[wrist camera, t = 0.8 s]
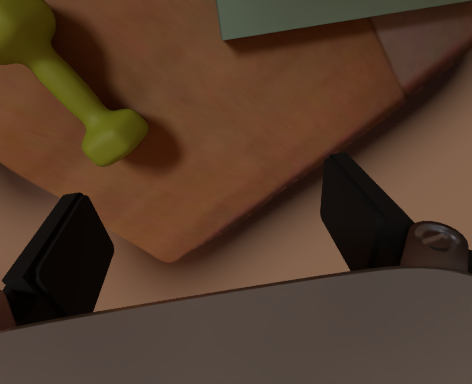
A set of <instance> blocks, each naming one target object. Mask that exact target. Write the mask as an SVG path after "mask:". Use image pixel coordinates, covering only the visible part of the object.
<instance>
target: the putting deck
mask: <svg viewBox="0 0 472 384" xmlns="http://www.w3.org/2000/svg"><path fill="white" fill-rule="evenodd" d="M465 1H471V0H216V5H217V12H218V19H219V26H220V33H221V39H222V40H229V39H235V38H241V37H247V36H254V35H260V34H266V33H272V32H278V31H285V30H291V29H297V28H303V27H310V26H316V25H322V24H328V23H334V22H341V21H347V20H353V19H359V18H366V17H372V16H378V15H384V14H391V13H397V12H403V11H409V10H415V9H422V8H428V7H434V6H440V5H447V4H453V3H459V2H465Z"/></svg>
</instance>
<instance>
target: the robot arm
mask: <svg viewBox="0 0 472 384" xmlns="http://www.w3.org/2000/svg"><path fill="white" fill-rule="evenodd" d="M320 215H321V219H322V221H323V223H324V224H325V226H326V228H327V230H328V231H329V233H330V235H331V237H332V239H333V240H334V242H335V244H336V246H337V248H338V249H339V251H340V253H341V255H342V256H343V258H344V260H345V262H346V263H347V265H348V267H349V269H350V271H349V272H341V273H334V274H328V275H320V276H314V277H307V278H301V279H295V280H288V281H282V282H276V283H269V284H263V285H256V286H250V287H244V288H237V289H231V290H226V291H219V292H213V293H206V294H201V295H194V296H188V297H182V298H176V299H169V300H163V301H157V302H152V303H145V304H140V305H134V306H127V307H121V308H116V309H110V310H103V311H97V312H93V311H94V308H95V305H96V302H97V299H98V297H99V294H100V291H101V288H102V285H103V282H104V279H105V276H106V274H107V271H108V268H109V265H110V262H111V259H112V257H113V254H114V245H113V243H112V241H111V239H110V237H109V235H108V233H107V231H106V229H105V227H104V226H103V224H102V222H101V220H100V218H99V216H98V214H97V212H96V210H95V208H94V206H93V204H92V202H91V201H90V199H89V197H88V196H86V195H83V194H82V193H80V192H79V193H73V194H66V195H63V196H62V197H61V199H60V200H59V202H58V203H57V204H56V206H55V207H54V209H53V210H52V211H51V213H50V214H49V216H48V217H47V218H46V220H45V221H44V222H43V224H42V225H41V227H40V228H39V230H38V231H37V232H36V234H35V235H34V236H33V238H32V239H31V241H30V242H29V243H28V245H27V246H26V247H25V249H24V250H23V252H22V253H21V254H20V256H19V257H18V259H17V260H16V261H15V263H14V264H13V265H12V267H11V268H10V270H9V271H8V272H7V274H6V275H5V277H4V278H3V279H2V282H3V283H4V284H5V285H6V286H5V287H4V289H3V290H0V384H472V250H469V249H468V242H467V240H466V239H465V237H464V236H463V235H462V234H461V233H460V232H458V231H457V230H456V229H454V228H452V227H450V226H448V225H445V224H442V223H439V222H433V221H421V222H417V223H414V222H413V221H412V220H411V219H410V218H409V217H408V215H407V214H406V213H405V212H404V211H403V210H402V209H401V208H400V207H399V206H398V205H397V204H396V203H395V202H394V201H393V200H392V199H391V198H390V197H389V196H388V195H387V194H386V193H385V192H384V191H383V190H382V189H381V188H380V187H379V186H378V185H377V184H376V183H375V182H374V181H373V180H372V179H371V178H370V177H369V176H368V174H367V173H365V171H363V169H362V168H361V167H360V166H359V165H358V164H357V163H356V162H355V161H354V160H353V159H352V158H351V157H350V156H349V155H348V154H347V153H345V152H343V153H337V154H331V155H329V158H328V159H325V161H324V173H323V185H322V196H321V208H320Z"/></svg>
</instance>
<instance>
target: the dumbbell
mask: <svg viewBox="0 0 472 384" xmlns="http://www.w3.org/2000/svg"><path fill="white" fill-rule="evenodd" d="M55 31H56V19H55V16H54V14H53V12H52V10H51V9H50V7H49V6H48V4H47V3H46V2H45V1H44V0H0V65H8V64H14V63H19V64H23V65H25V66H27V67H28V68H30V69H31V70H32V71H33V73H34V74H35V75H36V76H37V77H38V79H39V80H40V81H41V82H42V83H43V85H44V86H45V87H46V88H47V89H48V90H49V91H50V92H51V93H52V94H53V95H54V96H55V97H56V98H57V99H58V100H59V101H60V102H61V103H62V104H63V105H64V106H65V107H66V108H67V109H68V110H69V111H70V112H71V113H72V114H74V115H75V116H76V117H77V118H78V119H80V120H81V121H82V122H83V123H84V125H85V127H86V134H85V137H84V139H83V141H82V149H83V152H84V153H85V154H86V156H87V157H88V158H89V159H90V160H91V161H92V162H94V163H95V164H96V165H97V166H100V167H105V166H109V165H112V164H114V163H116V162H118V161H119V160H121V159H122V158H124V157H125V156H127V155H128V154H129V153H130V152H132V151H133V150H134V149H135V148H136V147H137V146H138V144H139V143H140V142H141V141H142V140H143V138H144V137H145V136H146V134H147V132H148V124H147V123H146V121H145V120H144V119H143V118H142V117H141V115H140V114H139V113H137V112H136V111H135V110H132V109H121V110H116V111H112V110H109V109H107V108H106V107H105V106H104V105H103V104H102V103H101V101H100V100H99V98H98V97H97V96H96V95H95V93H94V92H93V91H92V90H91V88H90V87H89V86H88V85H87V84H86V83H85V82H84V80H83V79H82V78H81V77H80V76H79V75H78V74H77V73H76V72H75V71H74V70H73V68H72V67H71V66H70V65H69V64H68V63H67V62H66V61H65V60H63V59H62V58H61V57H60V56H59V55H58V54H57V53H56V52H55V50H54V49H53V48H52V46H51V39H52V37H53V35H54V33H55Z"/></svg>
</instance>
